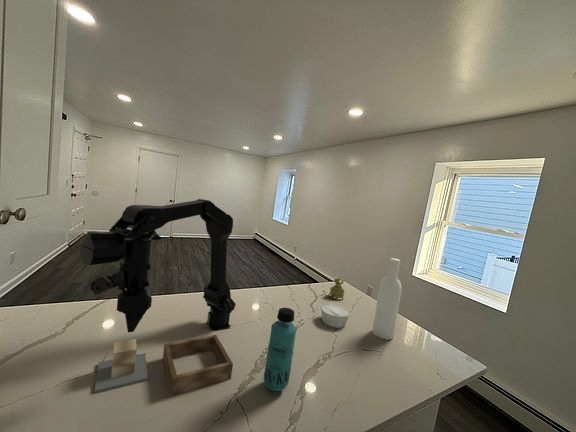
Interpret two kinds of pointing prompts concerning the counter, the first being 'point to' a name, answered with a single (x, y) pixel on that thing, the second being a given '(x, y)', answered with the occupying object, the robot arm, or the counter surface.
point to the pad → (108, 383)
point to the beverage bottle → (280, 351)
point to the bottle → (388, 302)
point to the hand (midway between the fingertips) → (130, 322)
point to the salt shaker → (337, 290)
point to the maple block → (124, 358)
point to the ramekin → (334, 315)
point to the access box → (196, 377)
